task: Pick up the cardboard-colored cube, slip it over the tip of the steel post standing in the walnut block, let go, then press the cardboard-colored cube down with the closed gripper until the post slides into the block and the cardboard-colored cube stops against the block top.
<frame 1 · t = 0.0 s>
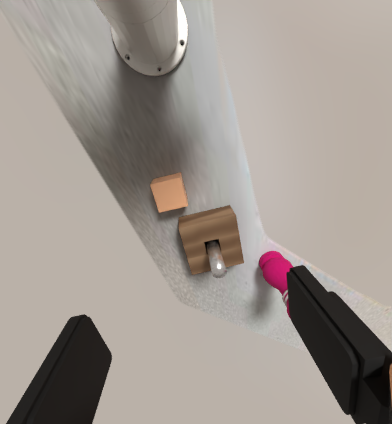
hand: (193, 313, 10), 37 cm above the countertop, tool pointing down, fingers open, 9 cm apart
post block: (209, 233, 50), on the countertop
cardboard-colored cube: (170, 188, 45), on the countertop
post: (215, 257, 40), point 10 cm above the countertop, slide at 0.0 cm
pepper mill: (270, 260, 54), on the countertop
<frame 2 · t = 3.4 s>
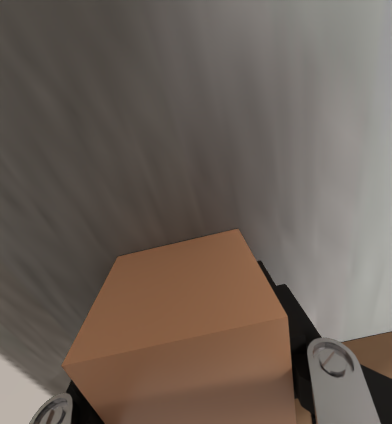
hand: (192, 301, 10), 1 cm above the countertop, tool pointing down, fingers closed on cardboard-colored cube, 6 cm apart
post block: (307, 400, 16), on the countertop
cardboard-colored cube: (191, 289, 11), on the countertop, touching gripper
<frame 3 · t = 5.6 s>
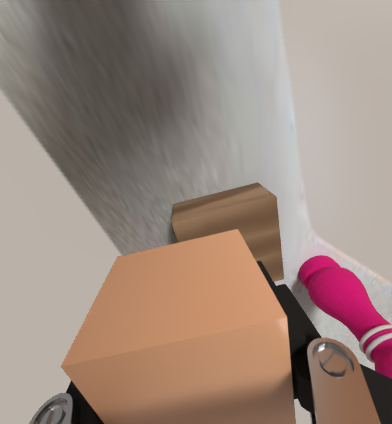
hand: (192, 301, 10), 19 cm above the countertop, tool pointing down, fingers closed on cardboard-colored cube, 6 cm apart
post block: (223, 230, 31), on the countertop
cardboard-colored cube: (191, 290, 11), point 18 cm above the countertop, touching gripper
pepper mill: (315, 269, 35), on the countertop
when the fingers open (12 cm above the countertop, at t = 7.8 s): cardboard-colored cube drops 1 cm, resting on post.
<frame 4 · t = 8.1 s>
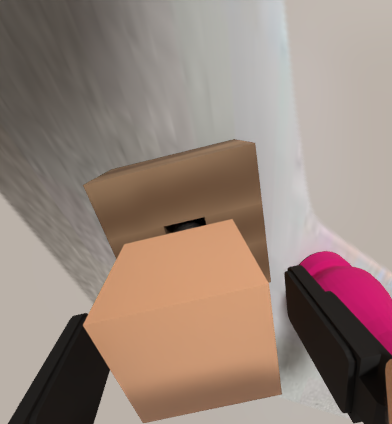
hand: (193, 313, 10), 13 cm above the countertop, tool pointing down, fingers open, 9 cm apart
post block: (187, 211, 22), on the countertop
cardboard-colored cube: (190, 275, 12), point 10 cm above the countertop, touching post
post: (190, 269, 13), point 10 cm above the countertop, slide at 0.3 cm, touching cardboard-colored cube
pepper mill: (317, 271, 26), on the countertop
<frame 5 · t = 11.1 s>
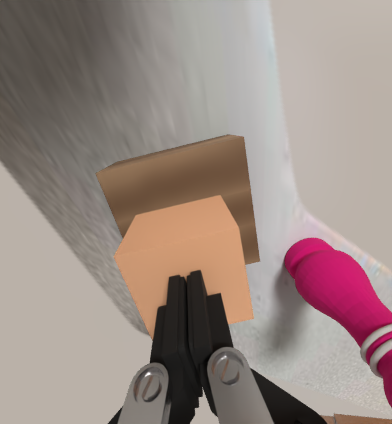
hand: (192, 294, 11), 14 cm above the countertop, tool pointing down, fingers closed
post block: (186, 200, 24), on the countertop
cardboard-colored cube: (188, 241, 15), point 9 cm above the countertop, touching gripper, post
pepper mill: (305, 256, 28), on the countertop
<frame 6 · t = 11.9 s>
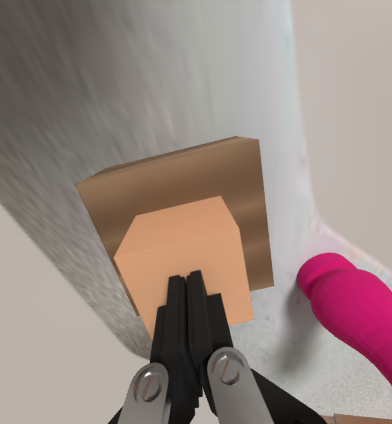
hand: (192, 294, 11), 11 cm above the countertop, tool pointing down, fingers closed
post block: (186, 211, 21), on the countertop
cardboard-colored cube: (188, 242, 15), point 6 cm above the countertop, touching gripper, post block
pepper mill: (321, 272, 25), on the countertop
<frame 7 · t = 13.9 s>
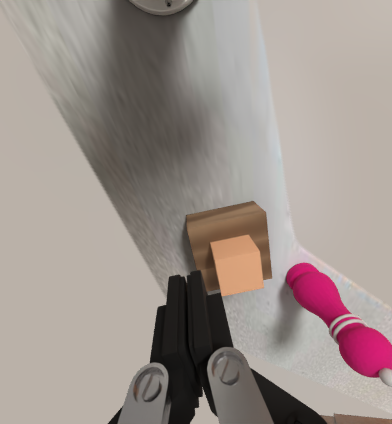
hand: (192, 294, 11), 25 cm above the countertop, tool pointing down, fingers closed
post block: (224, 238, 38), on the countertop
cardboard-colored cube: (232, 255, 33), point 6 cm above the countertop, touching post block
pepper mill: (300, 274, 42), on the countertop
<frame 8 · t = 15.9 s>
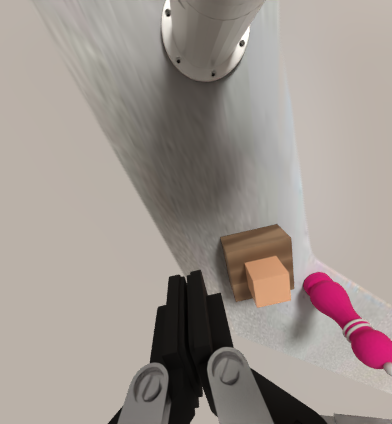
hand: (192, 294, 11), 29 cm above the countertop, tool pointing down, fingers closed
post block: (252, 254, 45), on the countertop
cardboard-colored cube: (261, 272, 39), point 6 cm above the countertop, touching post block
pepper mill: (315, 282, 49), on the countertop
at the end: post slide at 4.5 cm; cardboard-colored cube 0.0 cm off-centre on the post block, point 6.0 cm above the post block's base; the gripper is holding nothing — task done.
